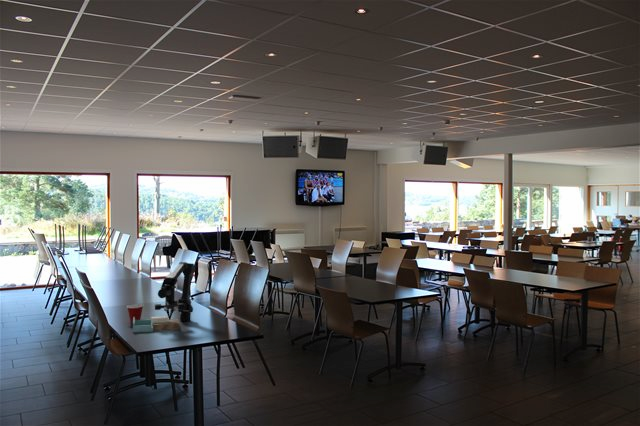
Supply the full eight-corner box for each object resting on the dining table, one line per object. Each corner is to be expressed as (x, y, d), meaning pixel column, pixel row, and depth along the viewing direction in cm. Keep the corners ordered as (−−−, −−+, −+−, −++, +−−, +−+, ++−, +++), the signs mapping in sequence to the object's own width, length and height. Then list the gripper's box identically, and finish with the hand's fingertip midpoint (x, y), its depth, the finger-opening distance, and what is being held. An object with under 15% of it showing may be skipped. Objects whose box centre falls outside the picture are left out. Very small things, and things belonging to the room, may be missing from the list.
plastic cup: (126, 321, 358) (126, 304, 358) (142, 320, 362) (143, 303, 362) (126, 325, 348) (126, 307, 348) (143, 324, 352) (143, 306, 351)
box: (152, 325, 350) (152, 316, 350) (153, 331, 333) (153, 322, 333) (133, 326, 346) (133, 316, 346) (132, 332, 329) (133, 323, 329)
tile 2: (167, 320, 347) (167, 316, 346) (167, 322, 342) (167, 317, 342) (159, 321, 345) (159, 316, 345) (159, 322, 340) (159, 318, 340)
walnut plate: (177, 324, 354) (177, 318, 354) (179, 329, 339) (179, 323, 339) (152, 325, 349) (152, 319, 349) (153, 331, 334) (153, 324, 334)
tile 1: (159, 321, 345) (159, 316, 345) (159, 322, 340) (159, 318, 340) (151, 321, 343) (151, 316, 343) (151, 323, 339) (151, 318, 338)
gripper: (155, 298, 334) (155, 323, 334) (186, 297, 340) (185, 321, 340) (154, 295, 344) (154, 319, 344) (184, 294, 350) (183, 318, 350)
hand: (169, 319), depth 344 cm, fingers closed
